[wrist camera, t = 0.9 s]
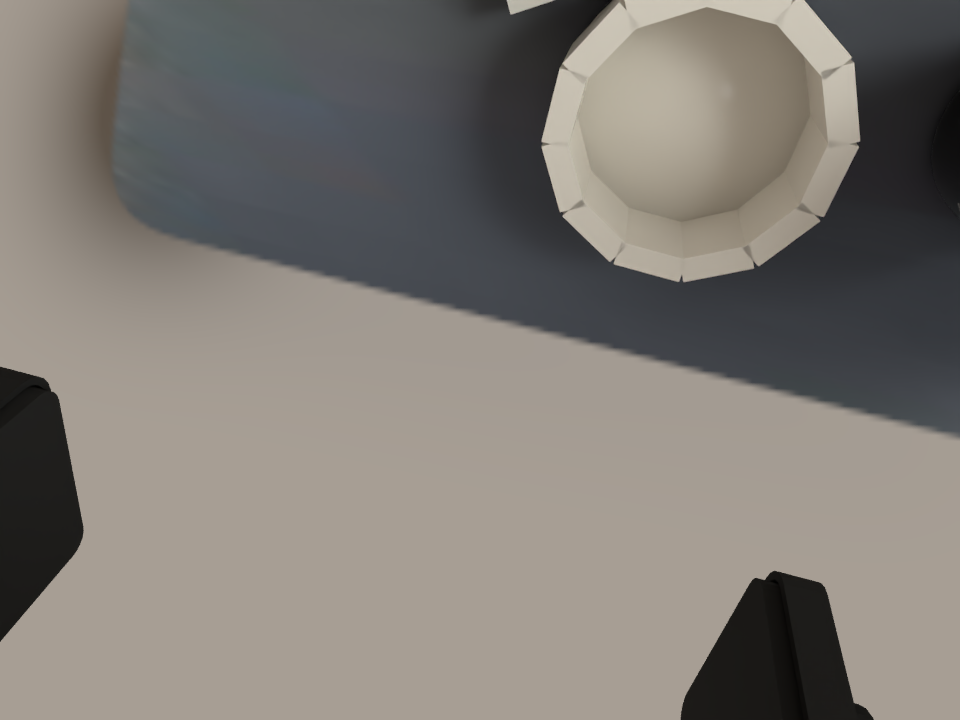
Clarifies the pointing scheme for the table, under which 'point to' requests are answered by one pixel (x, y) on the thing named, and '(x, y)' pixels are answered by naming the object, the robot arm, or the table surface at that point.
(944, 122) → the supplement bottle
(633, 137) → the bowl
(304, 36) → the table surface
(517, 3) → the parts tray
